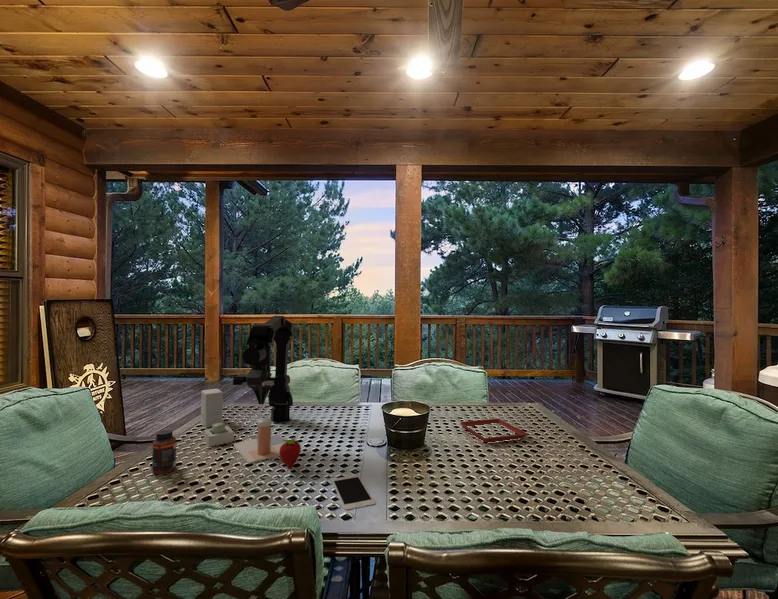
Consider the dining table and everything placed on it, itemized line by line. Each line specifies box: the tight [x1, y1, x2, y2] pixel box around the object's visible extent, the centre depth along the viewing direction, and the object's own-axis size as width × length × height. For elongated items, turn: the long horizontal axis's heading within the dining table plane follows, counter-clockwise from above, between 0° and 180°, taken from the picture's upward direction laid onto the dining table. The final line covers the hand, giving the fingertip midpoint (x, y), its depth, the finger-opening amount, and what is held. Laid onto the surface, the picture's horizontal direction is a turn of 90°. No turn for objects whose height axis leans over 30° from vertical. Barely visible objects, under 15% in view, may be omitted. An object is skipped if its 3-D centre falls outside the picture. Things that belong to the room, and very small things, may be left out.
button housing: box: [203, 425, 235, 448], centre depth 130 cm, size 8×8×4 cm
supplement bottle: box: [151, 429, 177, 475], centre depth 107 cm, size 6×6×11 cm
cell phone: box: [331, 474, 376, 511], centre depth 97 cm, size 8×16×1 cm, turn 20°
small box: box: [200, 388, 224, 428], centre depth 148 cm, size 8×6×13 cm
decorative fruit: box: [279, 434, 302, 469], centre depth 110 cm, size 6×8×10 cm
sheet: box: [232, 433, 286, 465], centre depth 124 cm, size 16×18×1 cm
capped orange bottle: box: [257, 417, 272, 456], centre depth 119 cm, size 4×4×10 cm
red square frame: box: [459, 418, 528, 442], centre depth 139 cm, size 18×18×3 cm
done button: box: [211, 422, 226, 434], centre depth 130 cm, size 4×4×4 cm
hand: (261, 404), depth 130 cm, fingers closed
